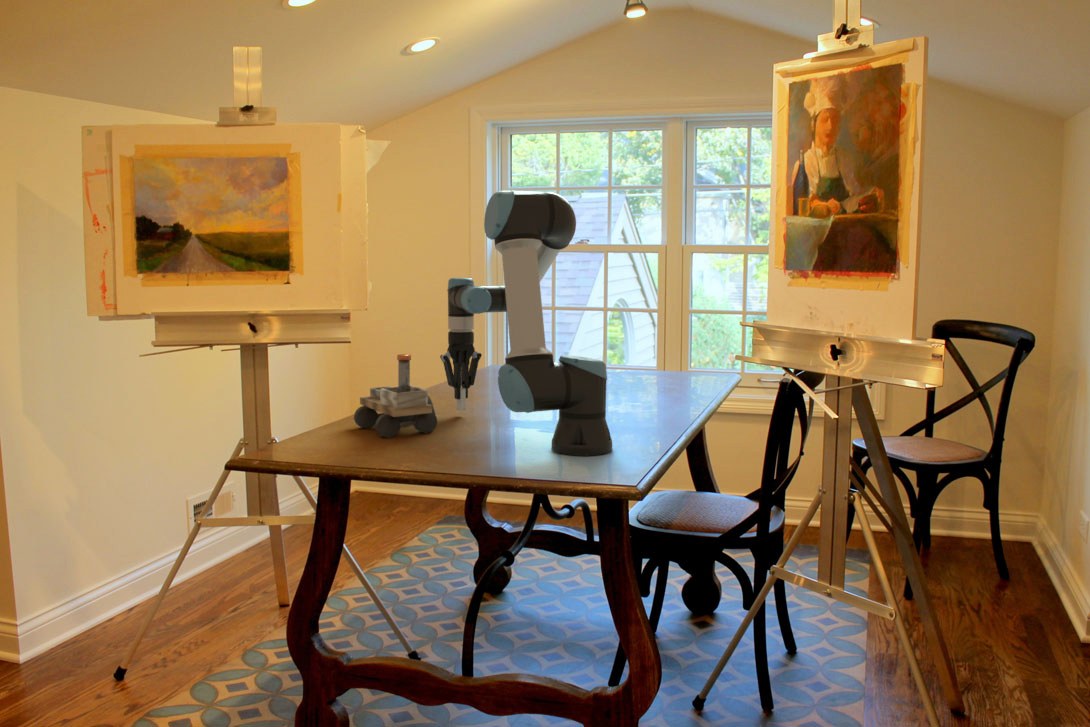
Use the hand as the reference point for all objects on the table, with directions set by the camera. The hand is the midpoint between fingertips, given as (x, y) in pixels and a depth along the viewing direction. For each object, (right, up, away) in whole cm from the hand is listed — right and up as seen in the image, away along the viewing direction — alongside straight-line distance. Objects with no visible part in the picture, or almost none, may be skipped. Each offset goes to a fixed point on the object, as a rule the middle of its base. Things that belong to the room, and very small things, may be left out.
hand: (461, 409), depth 260 cm
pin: (-13, +3, -26) cm, 29 cm away
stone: (-12, -3, -5) cm, 13 cm away
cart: (-16, -4, -21) cm, 26 cm away
